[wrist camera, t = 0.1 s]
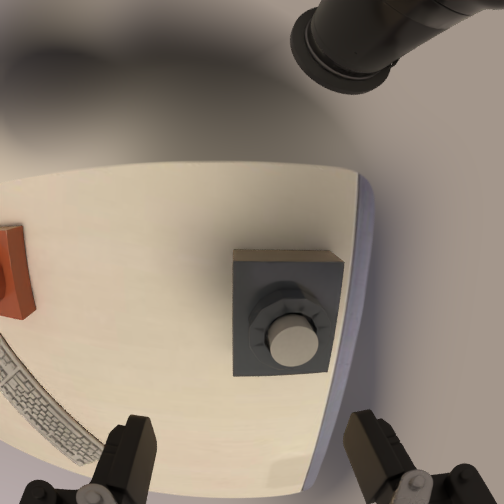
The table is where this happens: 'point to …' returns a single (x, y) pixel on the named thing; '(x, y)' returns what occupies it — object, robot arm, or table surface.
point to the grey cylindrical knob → (292, 340)
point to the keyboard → (45, 411)
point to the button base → (14, 275)
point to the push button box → (283, 305)
